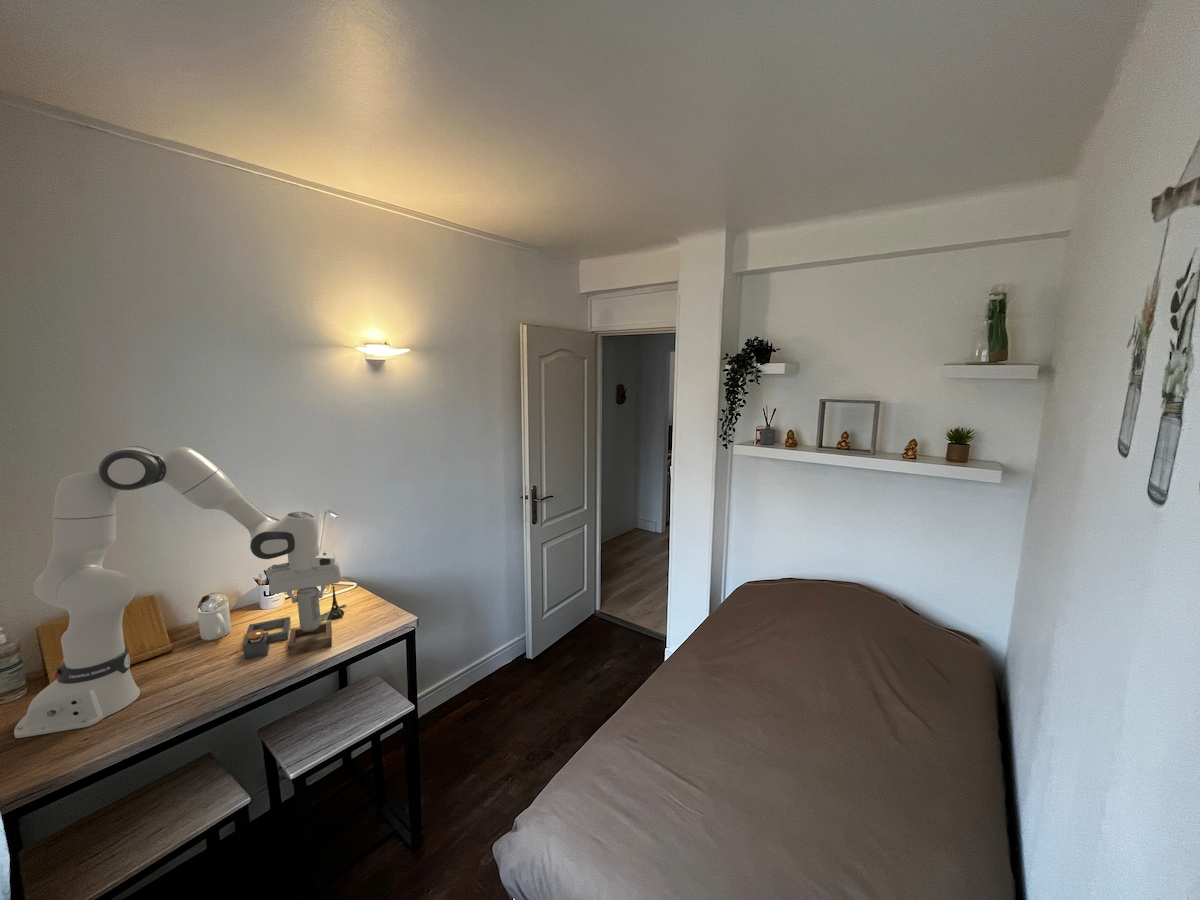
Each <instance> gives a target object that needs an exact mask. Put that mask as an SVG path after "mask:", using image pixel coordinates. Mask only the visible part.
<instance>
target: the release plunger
mask: <svg viewBox="0 0 1200 900" xmlns="http://www.w3.org/2000/svg"><path fill="white" fill-rule="evenodd" d="M264 633H265V630H262V629H258V630H253V631H251V632H249V633H248V634H247V639H248V640H250V643H252V642H257V641H261V640H262V637H263V636H264Z"/></svg>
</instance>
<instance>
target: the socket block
mask: <svg viewBox="0 0 1200 900" xmlns="http://www.w3.org/2000/svg"><path fill="white" fill-rule="evenodd" d="M291 625H292V621H291V616H287V617H282V618H277V619H270V620H266V621H261V622H256V623H250V624H249V625H248V627H247V630H246V634H245V637H244V640H243V644H242V651H243V659H244V661H249V660H253V659H257V658H262V657H266V656H268V654H269V650H270V644H272V643H278V642H280V641H286V640H289V636H290V630H291ZM277 628H282V631H278V632H273V633H269V632H268V631H267V632H264V636H263V637H262V640H261V641H257V642H252V643H250V640H248V639H247V634H248V633H249V632H251V631H253V630H258V629H262V630H264V631H266V630H273V629H277Z"/></svg>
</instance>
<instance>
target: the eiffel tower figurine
mask: <svg viewBox="0 0 1200 900" xmlns="http://www.w3.org/2000/svg"><path fill="white" fill-rule="evenodd" d="M332 585H333V586H332V603H331V605H332V606H331V608H330V610H329V611H327V612H325V613H322V614H320V617H321V623H322V622H327V621H335V620H340V619H343V618H344V615H345V611H344V610H343V609H344V608H346V607H347V606H348V605H347V604H343V605H340V606H339V604H338V601H337V598H336V591H335V586H334V584H332Z"/></svg>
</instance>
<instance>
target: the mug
mask: <svg viewBox="0 0 1200 900" xmlns="http://www.w3.org/2000/svg"><path fill="white" fill-rule="evenodd" d="M224 601H225V600H224ZM225 603H226V606H225V607H224V608H222V609H219V610H216V611H212V612H201V610H200V607H199V608H197V619H198V620H197V621H198V627H199V633H200V634H199V635H200V638H201V639H202V640H203V641H215V640H218V638H219V639H222V638H224V637H225V635H226V636H227V635H229V634H230V633H231V631H232V624H231V623H232V622H231V614H230V606H229V605H230V604H229V602H228V601H225ZM228 633H229V634H228ZM221 637H222V638H221ZM214 639H215V640H214Z"/></svg>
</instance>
